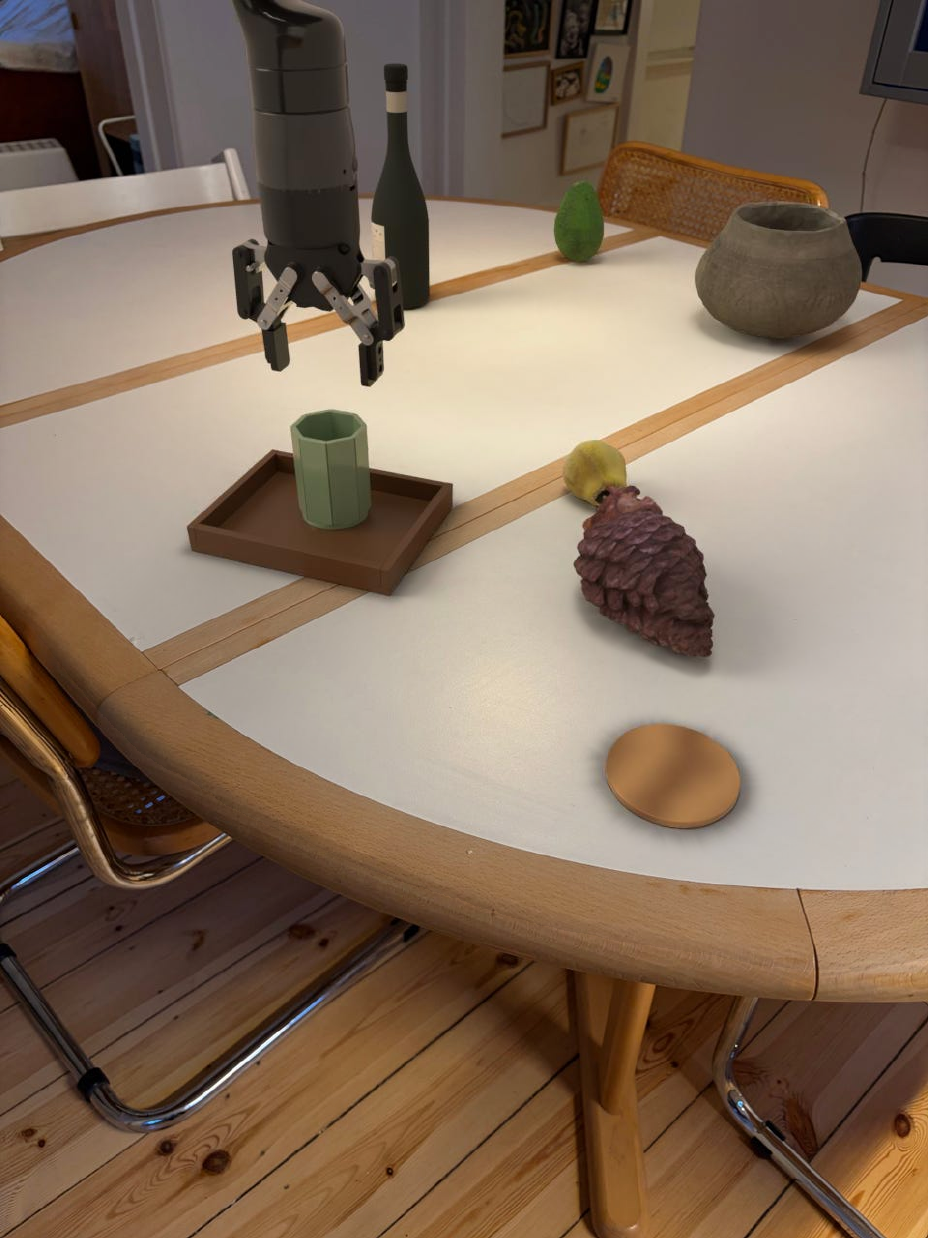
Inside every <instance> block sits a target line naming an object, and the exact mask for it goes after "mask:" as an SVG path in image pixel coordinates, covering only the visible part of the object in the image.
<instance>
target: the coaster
mask: <svg viewBox="0 0 928 1238" xmlns="http://www.w3.org/2000/svg"><path fill="white" fill-rule="evenodd" d="M740 775H741V774H740V771H739V769H738V767H737V764H736V762H735V760H734V759H733V757H732V756H731V754H730V753H729V752H728V751H727V750H726V749H725V748H724V747H723V746H722V745H721V744H720V743H718V742H717V741H716V740H715V739H713V738H711V737H710V736H708V735H706V734H704V733H703V732H700V731H697V730H696V729H693V728H689V727H686V726H681V725H677V724H668V723H654V724H653V723H651V724H647V725H642V726H641V725H640V726H638V727H635V728H632V729H630V730H628V731H627V732H625V733H623V734H621V736H619V737H617V739H616V740H615V741H614V742H613V744H612V745H611V746H610V748H609V751H608V753H607V756H606V760H605V777H606V781H607V784H608V786H609V788H610V790H611V792H612V794H613V795H614V796H615V798H616V799H617V800H618V801H619V802H620V803H621V804H622V806H624V807H625V808H626V809H627V810H629V811H630V812H632V813H633V814H635V815H636V816H638V817H640V818H641V819H644V820H646V821H648V822H651V823H654V824H657V825H660V826H665V827H668V828H678V829H693V828H699V827H704V826H707V825H710V824H713V823H715V822H717V821H719V820H720V819H722V818H724V817H725V816H726V815H727V814H728V813H729V812H730V811H731V810H732V809H733V808H734V806H735V804H736V802H737V800H738V797H739V794H740V790H741V776H740Z"/></svg>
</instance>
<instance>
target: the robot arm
mask: <svg viewBox="0 0 928 1238" xmlns="http://www.w3.org/2000/svg"><path fill="white" fill-rule="evenodd" d="M230 3H231V6H232V9H233V13H234V15H235V16H234V17H235V19H236V22H237V24H238V27H239V30H240V33H241V37H242V40H243V44H244V49H245V58H246V66H247V68H246V69H247V77H248V83H249V84H248V85H249V92H250V101H251V106H252V107H251V109H252V110H251V113H252V147H253V156H254V165H255V172H256V180H257V189H258V197H259V198H258V199H259V204H260V215H261V222H262V232H263V235H264V237H265V239H267V243H266V246H265V245H260V243H259V241H258V240H256V239H255V238H249V239H248V240H245V241H244V242H243V243H241V244H238V245H237V246H234V247H233V248H232V250H231V258H232V269H233V278H234V280H233V281H234V289H235V291H234V292H235V301H236V311H237V314H238V316H239V318H240V319H242V320H245V321H246V320H250V321H253V322H254V323H256V324H257V325H258V327H259V328H260V330H261V336H262V344H263V351H264V352H263V353H264V359H265V360H266V363H267V364H268V365H269V364H270V369H271V371H273V372H278V373H280V372H283V371H284V370H285V369H286V368H287V367H289V365H290V364H291V355H290V347H289V346H290V345H289V338H288V329H287V323H286V322H284V321H283V322H282V320H283V319H284V317H285V316H286V314H287V313H288V311H289V309H290V308H291V306H292V305H293V304H295V307H296V308H301V309H308V308H315V309H317V310H319V311H322V312H327V313H328V312H329V313H331V312H332V311H335V312H336V314H337V315H338V317H339V318H340V320H341V321H342V322H343V323H344V324H346V325H349V327H350V328H351V329H352V331H353V332H354V333H355V335H356V336H357V338H358V339H359V341H360V342H359V344H358V345H357V346H358V362H359V363H358V364H359V378H360V385H361V386H362V387H368V388H370V387H372V386H373V385H374V384H375V383H376V382H377V381H378V380H379V378H380V377H382V375H384V374H383V373H384V370H385V364H384V362H385V360H384V359H385V358H384V343H383V342H384V341H385V342H389V341H392V340H393V339H394V338H395V337H396V335H398V334H399V333H401V332H402V331H403V330H404V329H405V326H406V321H405V312H404V310H405V309H403V298H402V287H401V276H400V265H399V261H398V260H397V259H396V258H395V257H393V256H390V257H388V258H387V259H385V260H373V259H368V258H367V259H366V258H365V256H364V254H363V252H362V249H361V246H360V245H361V244H360V242H361V241H360V239H361V221H360V220H361V219H360V204H359V203H360V202H359V201H360V200H359V187H358V163H359V162H358V158H357V154H356V141H355V140H356V139H355V132H354V128H353V123H352V116H351V109H350V105H349V104H350V93H349V76H348V63H347V48H346V37H345V30H344V26H343V24H342V22H341V20H340V19H339V17H338V16H337V15H336V14H334V13H333V12H332V11H329V10H327V9H325V8H323V7H319V6H317V5H313V4H310V3H309V2H308V3H307V2H305V1H302V0H230ZM265 267H266V268H267V269H268V270H269V272H270V273H271V275H272V277H273V278H274V280H275V281H276V282H277V283H276V284H275V286H274V288H273V289H272V291H271V292H270V294H269V296H268V297H267V300H266V301H265V296H264V295H265V294H264V282H263V270H264V269H265ZM364 276H365V277H366V279H367V280H368V283H369V287H370V289H373V290H374V296H375V295H376V298H375V303H376V311H375V310H374V307H373V303H372V300H371V298H370V297H369V296H368V294H367V293H366V291H365V289H364V288H363V287H362V285H361V284H360V282H361V281H362V279H363V278H364ZM349 299H350V300H351V302H352V304H353V305H352V304H351V303H350V301H349Z"/></svg>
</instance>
